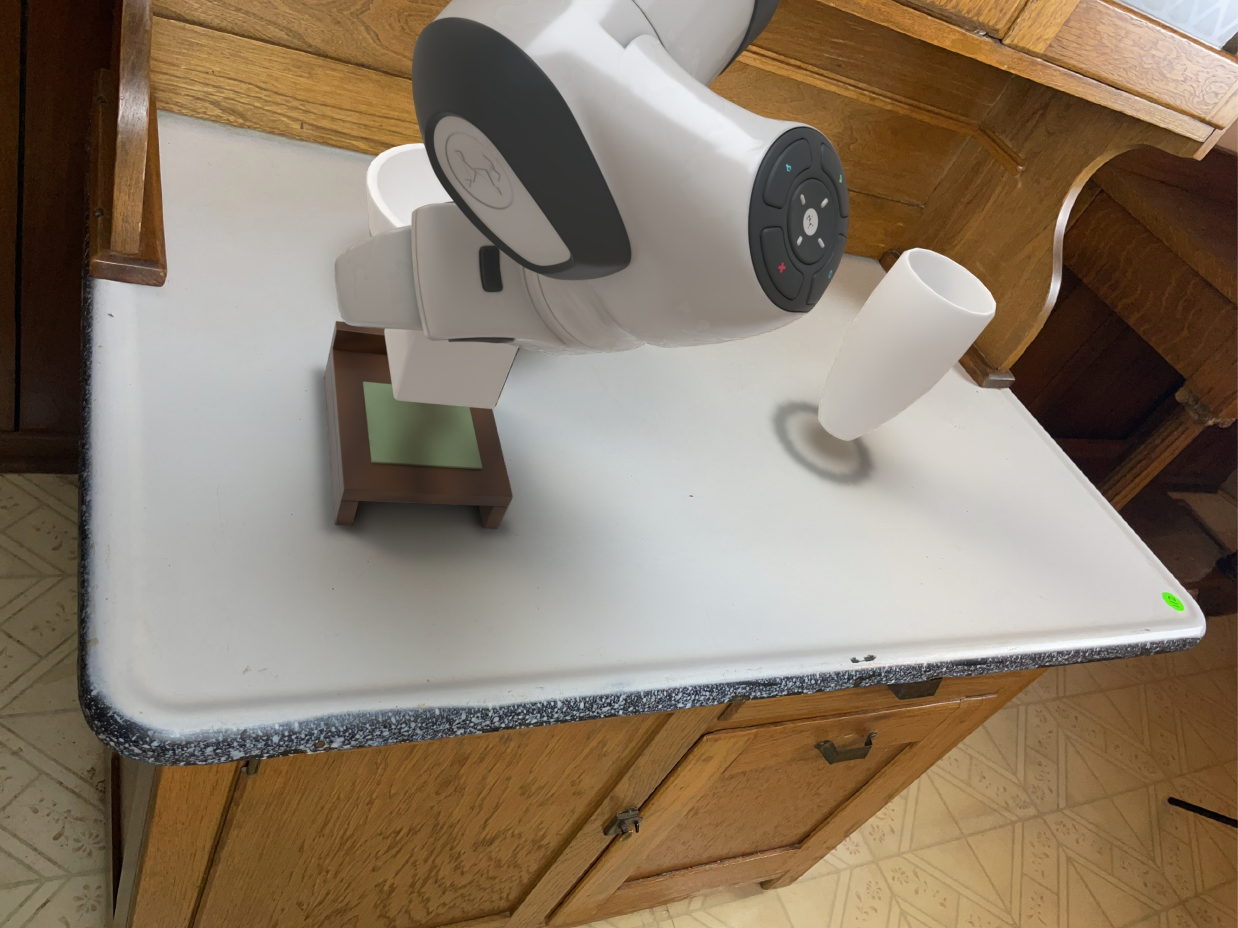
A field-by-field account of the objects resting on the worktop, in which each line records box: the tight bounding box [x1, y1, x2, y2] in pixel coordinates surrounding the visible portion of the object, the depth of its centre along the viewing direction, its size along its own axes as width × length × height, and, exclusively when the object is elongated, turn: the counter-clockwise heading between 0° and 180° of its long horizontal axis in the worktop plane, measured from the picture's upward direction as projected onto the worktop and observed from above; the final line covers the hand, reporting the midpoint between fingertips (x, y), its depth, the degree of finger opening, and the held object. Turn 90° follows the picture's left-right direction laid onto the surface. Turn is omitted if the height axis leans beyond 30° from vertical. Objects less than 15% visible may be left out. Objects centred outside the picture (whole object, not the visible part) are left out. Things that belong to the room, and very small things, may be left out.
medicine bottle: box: [384, 329, 521, 410], centre depth 57 cm, size 7×7×12 cm
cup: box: [817, 247, 997, 441], centre depth 83 cm, size 10×10×22 cm
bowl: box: [365, 142, 453, 238], centre depth 78 cm, size 19×19×11 cm
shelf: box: [323, 320, 514, 530], centre depth 65 cm, size 12×15×6 cm
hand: (458, 296), depth 56 cm, fingers closed on medicine bottle, 8 cm apart
